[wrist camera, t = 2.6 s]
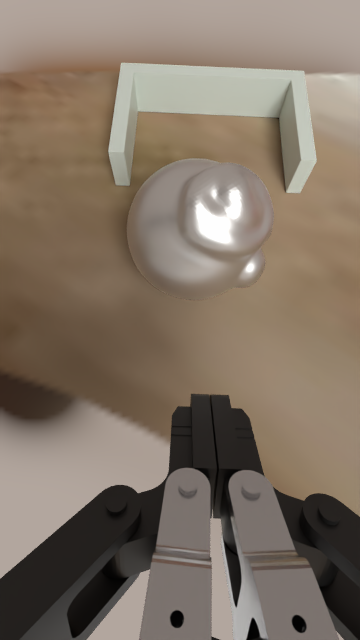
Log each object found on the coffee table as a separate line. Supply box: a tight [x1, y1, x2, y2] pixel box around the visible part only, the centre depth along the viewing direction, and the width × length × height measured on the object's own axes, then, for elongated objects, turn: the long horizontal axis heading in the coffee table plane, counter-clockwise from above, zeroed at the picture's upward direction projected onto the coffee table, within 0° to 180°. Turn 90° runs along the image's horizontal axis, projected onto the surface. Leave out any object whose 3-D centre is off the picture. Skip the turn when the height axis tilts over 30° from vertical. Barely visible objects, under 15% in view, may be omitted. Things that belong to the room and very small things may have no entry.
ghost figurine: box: [127, 158, 274, 300], centre depth 21 cm, size 9×10×10 cm
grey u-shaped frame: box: [108, 63, 317, 193], centre depth 28 cm, size 16×10×4 cm, turn 88°
